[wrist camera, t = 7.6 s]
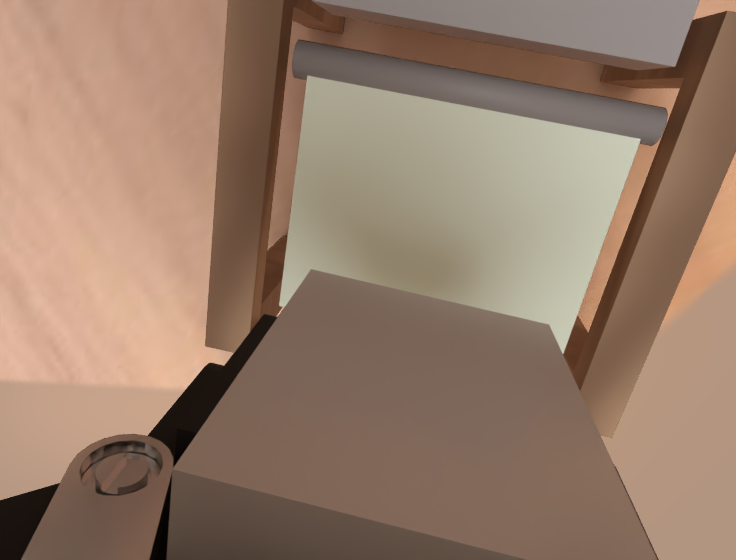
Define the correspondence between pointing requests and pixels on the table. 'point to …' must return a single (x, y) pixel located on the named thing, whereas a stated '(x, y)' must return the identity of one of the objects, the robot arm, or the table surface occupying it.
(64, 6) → the table surface
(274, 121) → the stand
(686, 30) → the trapdoor
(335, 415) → the stone
